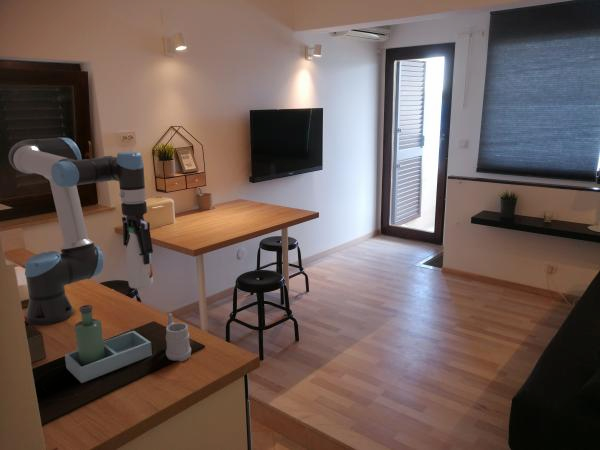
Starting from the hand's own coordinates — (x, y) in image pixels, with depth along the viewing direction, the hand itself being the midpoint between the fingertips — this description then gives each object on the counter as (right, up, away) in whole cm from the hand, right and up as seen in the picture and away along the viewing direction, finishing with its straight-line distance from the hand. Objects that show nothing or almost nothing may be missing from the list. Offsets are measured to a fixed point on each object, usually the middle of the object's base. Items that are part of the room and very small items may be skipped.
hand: (139, 270), depth 156 cm
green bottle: (-8, -27, -16) cm, 33 cm away
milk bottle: (0, -5, +1) cm, 5 cm away
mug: (+14, -26, -7) cm, 30 cm away
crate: (-5, -27, -12) cm, 30 cm away
